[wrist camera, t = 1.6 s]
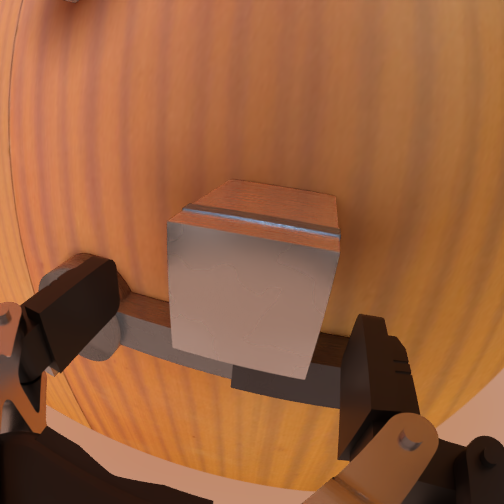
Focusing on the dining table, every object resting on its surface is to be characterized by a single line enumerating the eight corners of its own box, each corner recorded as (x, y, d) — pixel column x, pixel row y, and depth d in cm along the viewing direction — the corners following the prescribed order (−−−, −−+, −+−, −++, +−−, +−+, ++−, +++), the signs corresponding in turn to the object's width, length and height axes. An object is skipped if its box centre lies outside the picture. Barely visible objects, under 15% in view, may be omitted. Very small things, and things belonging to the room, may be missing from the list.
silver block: (336, 195, 14) (342, 251, 8) (316, 289, 16) (305, 380, 10) (230, 178, 15) (165, 219, 9) (223, 271, 17) (171, 348, 11)
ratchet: (390, 318, 16) (408, 419, 9) (353, 397, 19) (350, 487, 12) (57, 245, 19) (-12, 290, 13) (74, 321, 22) (22, 372, 16)
